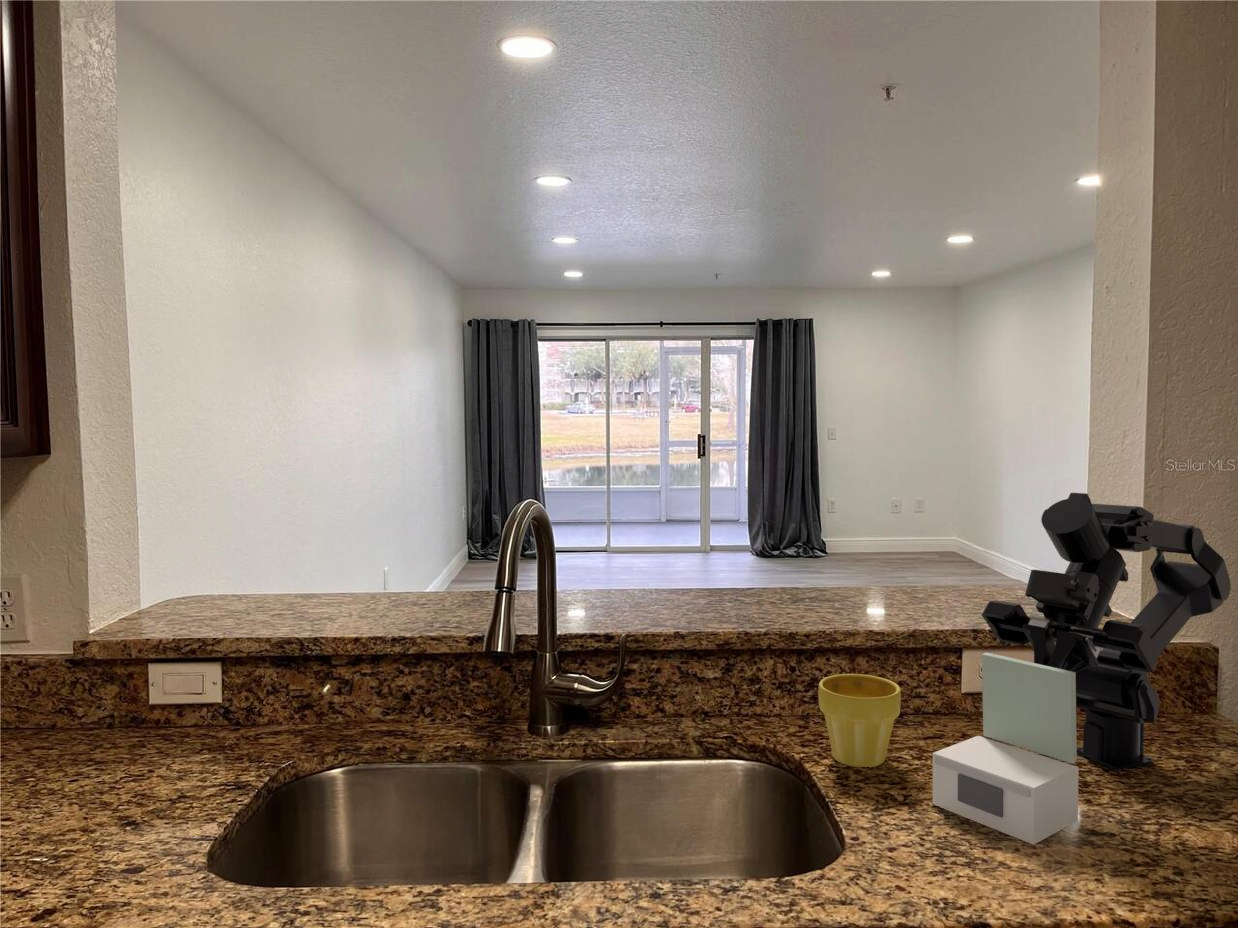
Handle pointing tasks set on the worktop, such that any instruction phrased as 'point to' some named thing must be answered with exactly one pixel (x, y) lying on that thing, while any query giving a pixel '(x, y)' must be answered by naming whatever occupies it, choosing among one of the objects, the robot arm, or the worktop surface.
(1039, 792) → the box
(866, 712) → the plant pot
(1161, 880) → the worktop surface
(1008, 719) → the lid
